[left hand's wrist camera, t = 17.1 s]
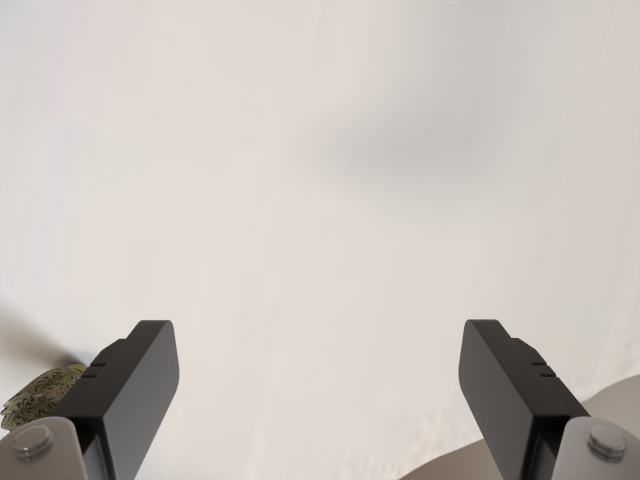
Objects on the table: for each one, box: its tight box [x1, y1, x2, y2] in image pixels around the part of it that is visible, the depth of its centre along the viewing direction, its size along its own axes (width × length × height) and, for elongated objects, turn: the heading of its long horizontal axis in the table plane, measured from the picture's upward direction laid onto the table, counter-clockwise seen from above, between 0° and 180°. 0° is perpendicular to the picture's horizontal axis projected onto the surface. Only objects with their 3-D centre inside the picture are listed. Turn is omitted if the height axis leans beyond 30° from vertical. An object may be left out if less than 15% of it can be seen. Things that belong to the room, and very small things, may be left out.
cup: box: [0, 364, 87, 432], centre depth 46 cm, size 8×7×8 cm
